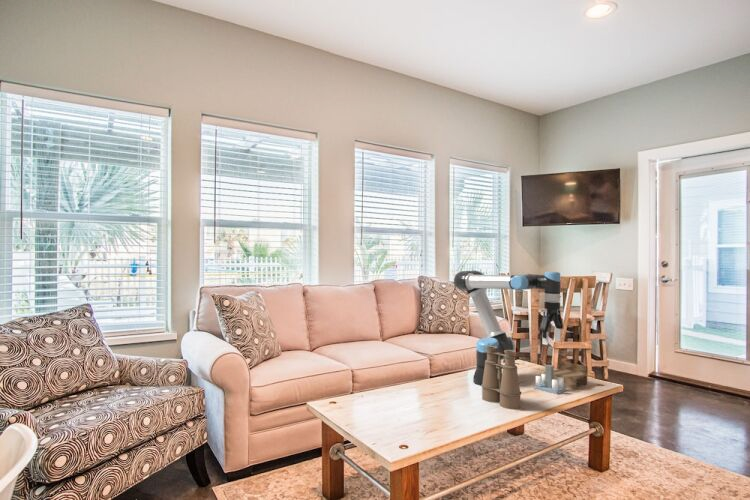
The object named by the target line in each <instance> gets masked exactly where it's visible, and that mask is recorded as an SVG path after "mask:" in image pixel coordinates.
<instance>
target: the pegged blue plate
mask: <svg viewBox="0 0 750 500" xmlns="http://www.w3.org/2000/svg"><path fill="white" fill-rule="evenodd" d="M554 366H555V365H551V364H546V365H545V367H544V369H545V373H541V375H535V385H534V386H533V389H534V390H538V391H540V390H541V392H544V391H545V392H546V393H548V392H549V394H552V393H553V395H556V394H557V395H559V394H561V393H562V392H565V391H566V390H567V388H565V387H564V378H562V377H557V380H555V379H554V370H555V369H554V368H555V367H554ZM545 392H544V393H545Z"/></svg>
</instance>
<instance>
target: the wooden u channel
mask: <svg viewBox="0 0 750 500" xmlns="http://www.w3.org/2000/svg"><path fill="white" fill-rule="evenodd" d="M557 377H562V378H564V388H566V389H569V388H570V390H574V391H576V390H577V386H578V385H577V383H578V384H582V385H586V386H587V385H588V366H587V365H581V364H578V363H577V364H576V363H570V362H565V361H560V368H558V369H554V379H555V380H557Z"/></svg>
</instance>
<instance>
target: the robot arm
mask: <svg viewBox="0 0 750 500" xmlns="http://www.w3.org/2000/svg"><path fill="white" fill-rule="evenodd" d="M561 280H562V279H561V273H560V272H559V271H545V272H544V274H532V273H526V274H485V273H483V272H482V271H479V270H461V271H459V272H457V273H456V274H455V276H454V278H453V283H454V286H455V287H456V289H458V290H459V291H463V292H466V294H467V296H469V297H470V298H471V299H472V301H473V304H474V306H475V309H476V311H477V314H478V316H479V318H480V321H481V323H482V326H483V328H484V331H485V333H486V337H482V338H479V339H477V341H476V347H475V349H476V350H475V351H476V368H475V370H474V374H473V380H472V381H473V383H474V384H476V385H478V386H481V384H482V383H483V375H484V368H485V360H487V353H486V351H487V348H486V346H496V347H497V350H496V351H497V352H498V353H499V352H500V353H501V354H505V353H504V350H514V351H516V350H515V349H516V346H515V343H514V341H513V339H511V338H510V337H509V336H507V334H506V332H505V331H504V330H502V328H501V326H500V324H499V321H498V319H497V316H496V314H495V311H494V309H493V307H492V305H491V302H490V300H489V297H488V295H487V292H486V291H487V290H488V289H490V290H491V289H493V290H516V291H524V290H525V291H526V290H533V289H535V290H544V297H543V298H544V299H543V300H544V303H543V304H544V309H545V310H546V311H543V316H542V319H541V323H540V327H539V331H540V332H542V334H541V335H542V336H541V337H542V338H541V339H542V340H541V341H542V342H541V343H542V345H546V346H548V345H549V328H550V326H551V323H552V321H553V323H554V326H555V328H554V342H555V341H556V342H561V341H562V340H561V339H562V333H561V332H562V331H561V330H562V329H564V323H563V319H562V314H561V297H562V296H561V282H562V281H561ZM502 360H505V357H504V356H502V355H501V361H502ZM497 361H498V362H499V355H498V354H497Z"/></svg>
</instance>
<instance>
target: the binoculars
mask: <svg viewBox="0 0 750 500" xmlns="http://www.w3.org/2000/svg"><path fill="white" fill-rule="evenodd" d="M486 348H487V351H486V353H487V360H485V368H484V375H483V383H482V384H481V385H480V386H481V393H482V394H481V399H482V400H483V401H485V402H489V403H499V406H500V407H502V408H504V409H506V410H507V409H508V410H519V409H520V408H521V406H522V405H521V395H522V392H521V387H520V380H519V374H518V373H519V372H518V366H517V365H516V358H517V355H516V353H517V351H516V350H515V351H514V350H504V353H505V354H501V353H500V352H499V353H498V352H497V351H496V350H497V347H496V346H486ZM497 354H498V355H499V361H497ZM501 355H502V356H504V357H505V359H504V364H502V363H501V362H502V360H501Z"/></svg>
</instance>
